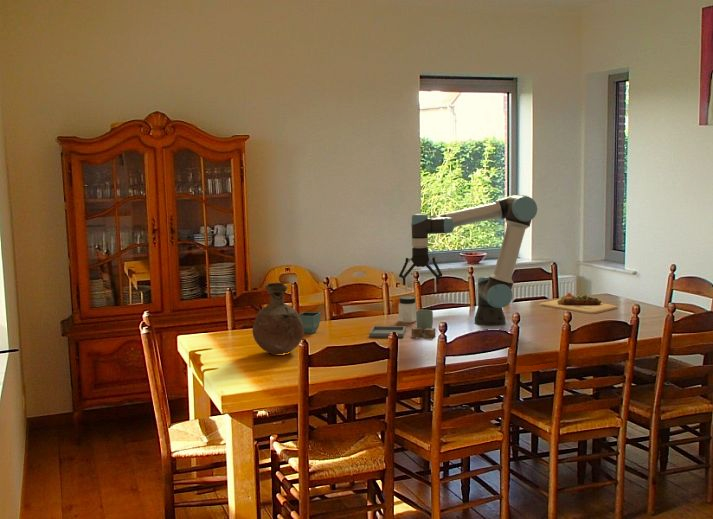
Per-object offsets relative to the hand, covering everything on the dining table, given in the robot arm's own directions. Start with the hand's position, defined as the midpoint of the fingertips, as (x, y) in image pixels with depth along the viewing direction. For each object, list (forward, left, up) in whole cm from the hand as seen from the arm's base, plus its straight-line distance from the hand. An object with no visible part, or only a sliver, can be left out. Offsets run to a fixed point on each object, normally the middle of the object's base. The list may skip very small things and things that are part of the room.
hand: (421, 291), depth 361 cm
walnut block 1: (+1, +11, -19) cm, 22 cm away
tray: (+15, +6, -19) cm, 25 cm away
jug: (+58, +45, -19) cm, 76 cm away
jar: (+8, -24, -19) cm, 32 cm away
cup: (-2, +1, -19) cm, 19 cm away
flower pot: (+53, +4, -19) cm, 57 cm away
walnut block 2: (-5, +12, -19) cm, 23 cm away
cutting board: (-81, -64, -20) cm, 105 cm away
